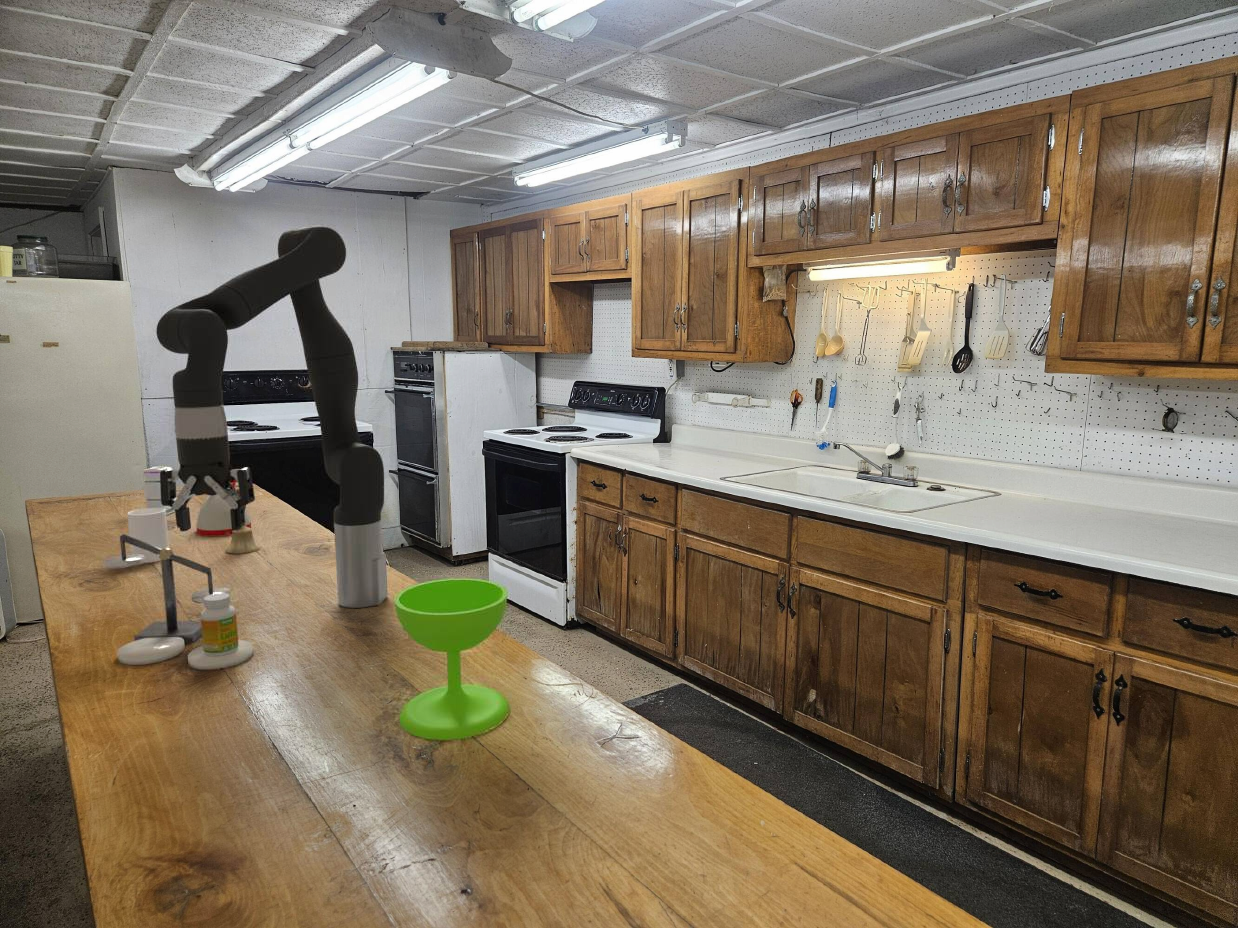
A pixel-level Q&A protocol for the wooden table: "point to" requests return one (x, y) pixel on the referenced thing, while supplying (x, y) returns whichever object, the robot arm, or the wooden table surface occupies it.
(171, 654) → the dish high side
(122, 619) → the wooden table surface
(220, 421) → the robot arm
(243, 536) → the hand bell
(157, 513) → the mug
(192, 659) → the dish low side
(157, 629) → the balance
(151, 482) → the syrup box
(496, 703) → the wineglass
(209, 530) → the white chicken dome
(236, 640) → the supplement bottle
